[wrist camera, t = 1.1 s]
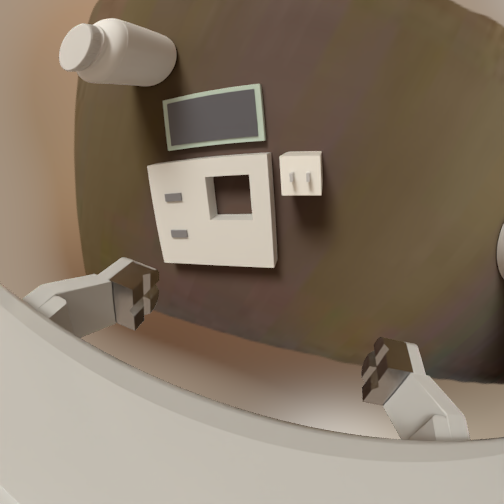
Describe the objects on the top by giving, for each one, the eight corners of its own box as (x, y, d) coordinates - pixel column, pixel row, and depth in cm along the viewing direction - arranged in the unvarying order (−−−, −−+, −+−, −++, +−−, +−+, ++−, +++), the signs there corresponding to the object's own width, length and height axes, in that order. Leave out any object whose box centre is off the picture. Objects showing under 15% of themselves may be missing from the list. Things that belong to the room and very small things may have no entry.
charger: (321, 151, 31) (319, 156, 25) (322, 184, 33) (321, 198, 27) (287, 151, 32) (277, 157, 26) (289, 184, 34) (279, 198, 28)
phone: (262, 85, 30) (259, 83, 29) (267, 140, 33) (264, 140, 32) (168, 101, 34) (162, 100, 32) (173, 149, 36) (167, 151, 35)
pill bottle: (134, 94, 34) (52, 94, 20) (129, 47, 31) (51, 33, 17) (182, 77, 31) (103, 62, 18) (175, 28, 28) (101, -3, 15)
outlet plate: (271, 152, 33) (266, 154, 30) (277, 259, 38) (273, 268, 36) (157, 163, 37) (145, 166, 35) (172, 255, 43) (163, 263, 40)
